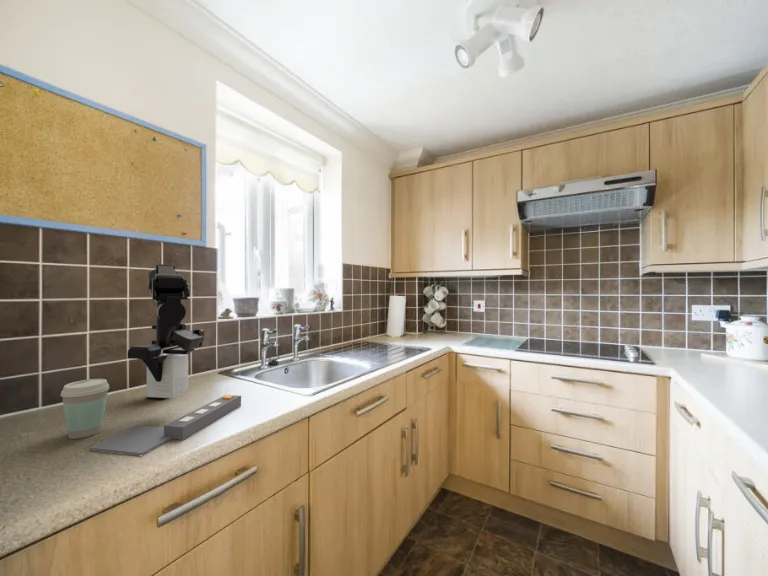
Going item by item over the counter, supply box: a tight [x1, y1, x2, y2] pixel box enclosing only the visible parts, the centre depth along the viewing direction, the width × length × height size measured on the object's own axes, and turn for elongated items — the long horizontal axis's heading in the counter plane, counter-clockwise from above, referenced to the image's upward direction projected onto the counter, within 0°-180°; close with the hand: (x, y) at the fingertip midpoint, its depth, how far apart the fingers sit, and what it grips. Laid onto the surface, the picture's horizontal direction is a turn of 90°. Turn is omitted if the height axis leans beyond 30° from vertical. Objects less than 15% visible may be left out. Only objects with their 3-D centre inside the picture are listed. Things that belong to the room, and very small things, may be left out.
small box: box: [146, 354, 189, 399], centre depth 86 cm, size 8×6×10 cm
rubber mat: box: [88, 425, 172, 456], centre depth 72 cm, size 13×11×1 cm
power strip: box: [163, 394, 242, 441], centre depth 84 cm, size 5×22×4 cm, turn 171°
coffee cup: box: [60, 378, 110, 440], centre depth 76 cm, size 8×8×12 cm
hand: (168, 378), depth 86 cm, fingers closed on small box, 6 cm apart
